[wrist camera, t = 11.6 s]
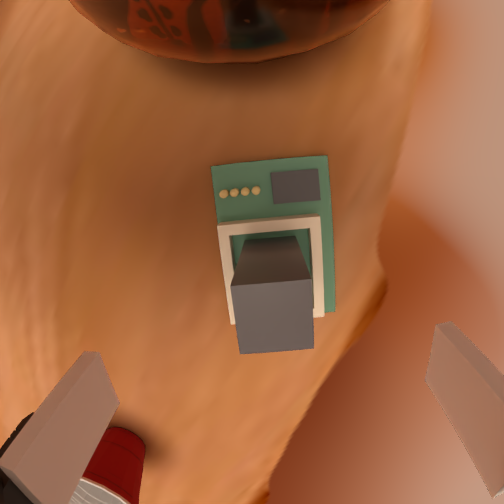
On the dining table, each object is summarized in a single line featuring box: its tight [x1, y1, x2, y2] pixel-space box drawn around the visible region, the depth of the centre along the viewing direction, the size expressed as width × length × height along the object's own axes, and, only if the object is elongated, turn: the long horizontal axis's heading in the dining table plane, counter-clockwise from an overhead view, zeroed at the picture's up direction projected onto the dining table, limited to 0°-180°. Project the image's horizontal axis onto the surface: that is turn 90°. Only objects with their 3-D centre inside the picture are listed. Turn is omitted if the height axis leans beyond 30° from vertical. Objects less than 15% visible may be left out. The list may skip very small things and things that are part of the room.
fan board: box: [211, 155, 335, 324], centre depth 24 cm, size 13×9×3 cm
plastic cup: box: [68, 427, 145, 504], centre depth 28 cm, size 11×11×12 cm
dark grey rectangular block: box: [230, 236, 314, 354], centre depth 21 cm, size 5×4×10 cm
